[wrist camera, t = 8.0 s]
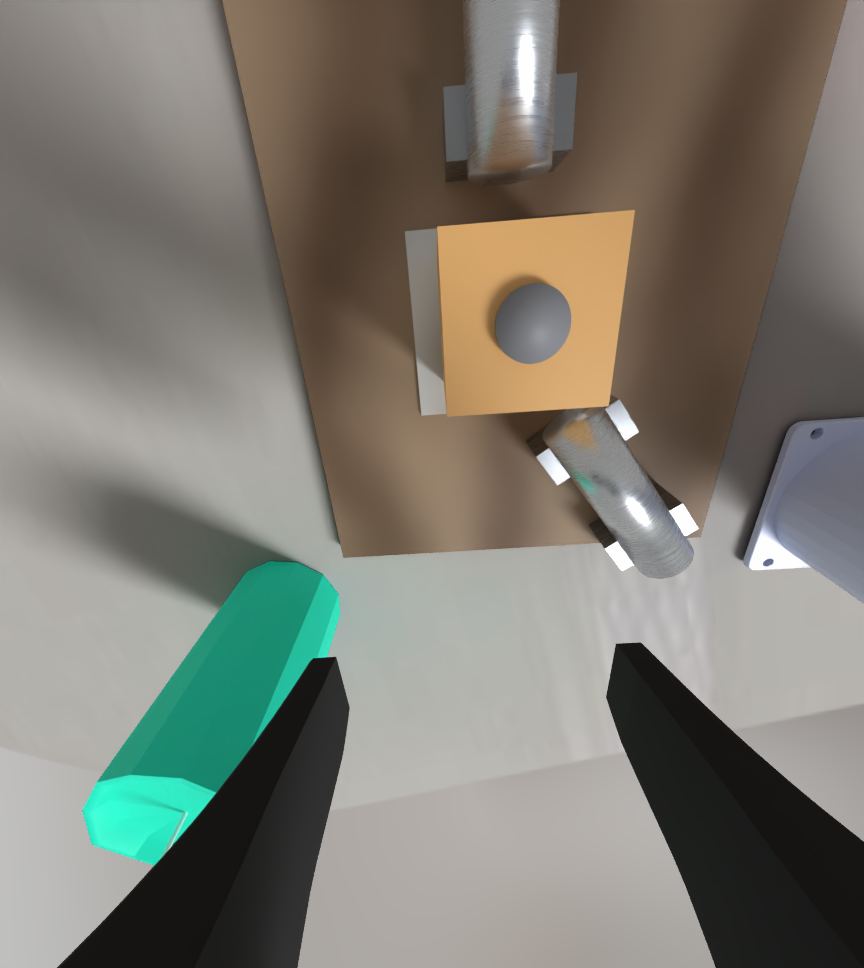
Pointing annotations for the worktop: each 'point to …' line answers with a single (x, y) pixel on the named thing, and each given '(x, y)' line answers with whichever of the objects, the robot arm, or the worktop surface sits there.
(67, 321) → the worktop surface
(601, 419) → the shaft
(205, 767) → the candle
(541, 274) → the tan wooden block
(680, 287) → the board
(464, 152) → the shaft
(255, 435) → the worktop surface
